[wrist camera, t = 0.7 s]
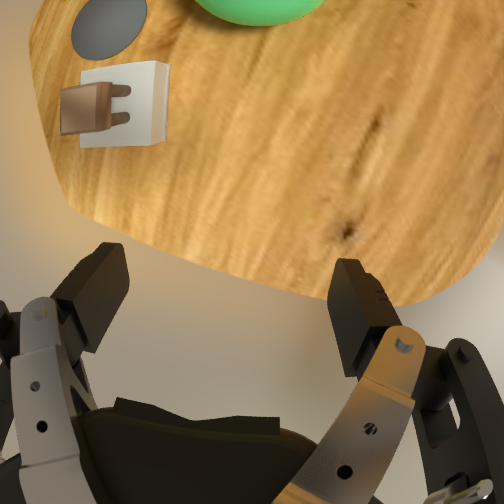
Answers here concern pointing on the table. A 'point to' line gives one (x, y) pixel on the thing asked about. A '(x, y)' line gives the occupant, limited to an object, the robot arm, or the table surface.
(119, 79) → the white square box
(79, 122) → the walnut stool
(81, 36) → the charcoal felt mat
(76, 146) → the table surface
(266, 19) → the toy bird
